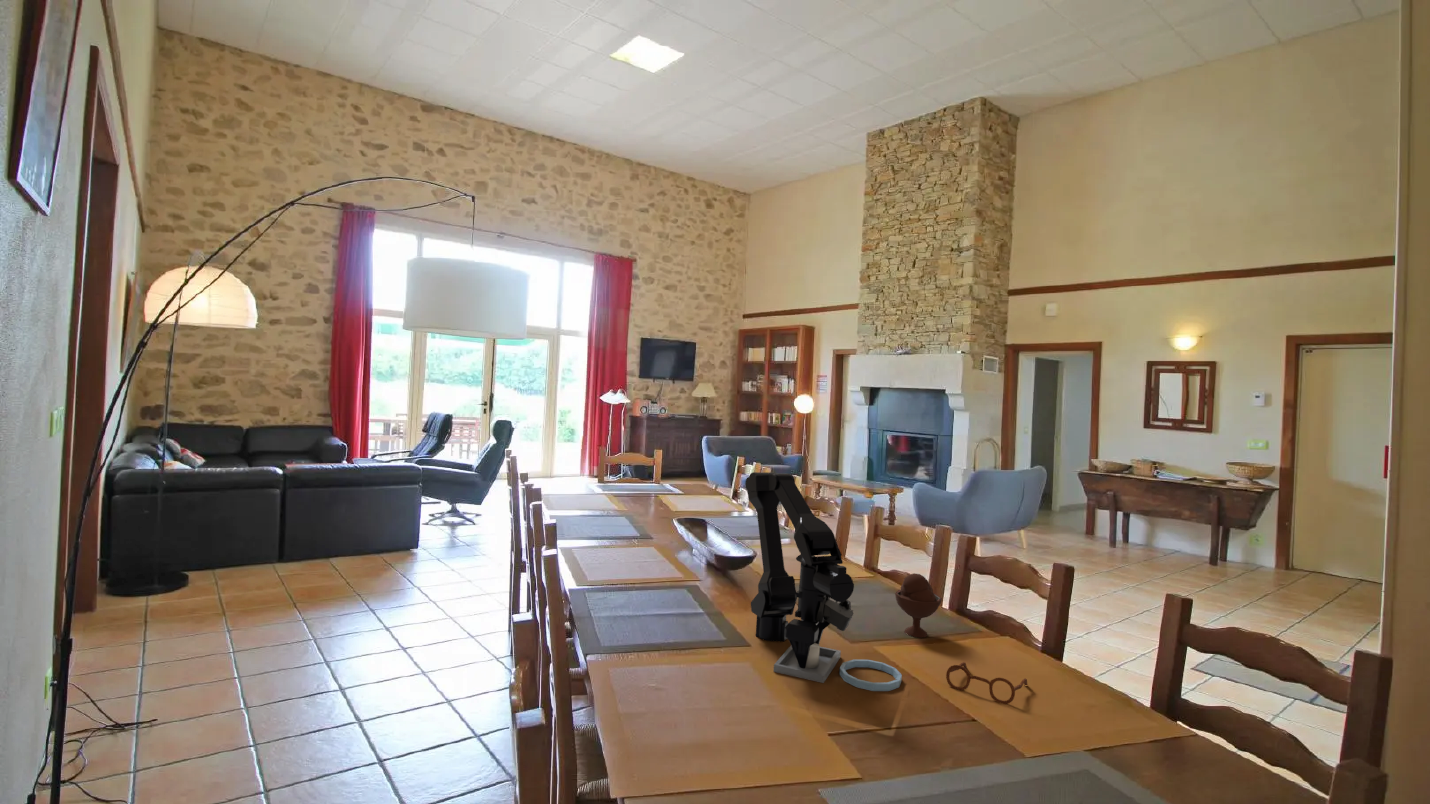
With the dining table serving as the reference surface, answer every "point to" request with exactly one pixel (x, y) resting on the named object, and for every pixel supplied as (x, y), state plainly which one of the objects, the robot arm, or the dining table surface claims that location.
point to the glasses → (957, 667)
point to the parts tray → (819, 674)
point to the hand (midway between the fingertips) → (808, 660)
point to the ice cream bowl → (917, 601)
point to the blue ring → (866, 684)
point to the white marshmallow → (813, 656)
